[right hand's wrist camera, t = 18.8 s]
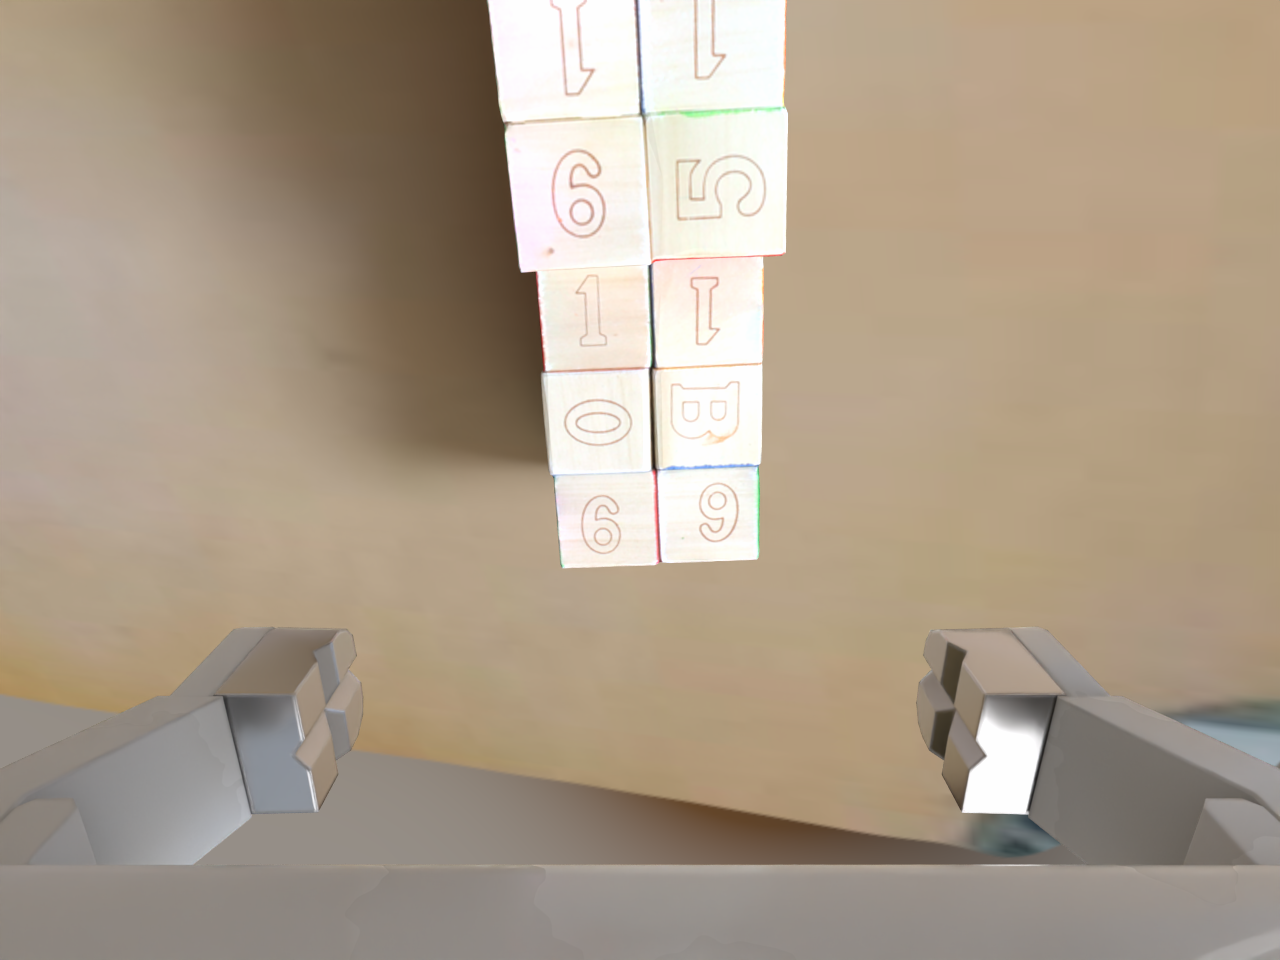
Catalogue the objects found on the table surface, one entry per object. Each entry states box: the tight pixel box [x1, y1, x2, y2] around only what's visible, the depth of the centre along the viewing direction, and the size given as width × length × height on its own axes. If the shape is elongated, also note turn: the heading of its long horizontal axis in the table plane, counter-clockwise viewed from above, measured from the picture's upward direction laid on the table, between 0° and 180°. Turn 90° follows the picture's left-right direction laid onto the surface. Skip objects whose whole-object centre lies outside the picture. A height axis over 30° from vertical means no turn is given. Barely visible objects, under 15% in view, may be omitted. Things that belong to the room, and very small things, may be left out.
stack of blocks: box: [487, 0, 788, 568], centre depth 22 cm, size 21×6×12 cm, turn 2°
